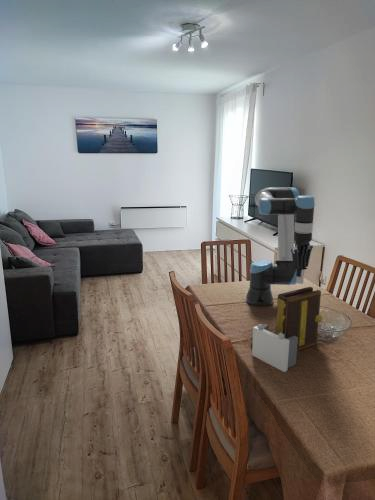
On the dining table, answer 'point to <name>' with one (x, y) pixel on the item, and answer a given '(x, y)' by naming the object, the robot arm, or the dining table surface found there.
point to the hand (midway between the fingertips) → (299, 282)
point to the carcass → (274, 348)
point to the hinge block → (252, 340)
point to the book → (299, 315)
